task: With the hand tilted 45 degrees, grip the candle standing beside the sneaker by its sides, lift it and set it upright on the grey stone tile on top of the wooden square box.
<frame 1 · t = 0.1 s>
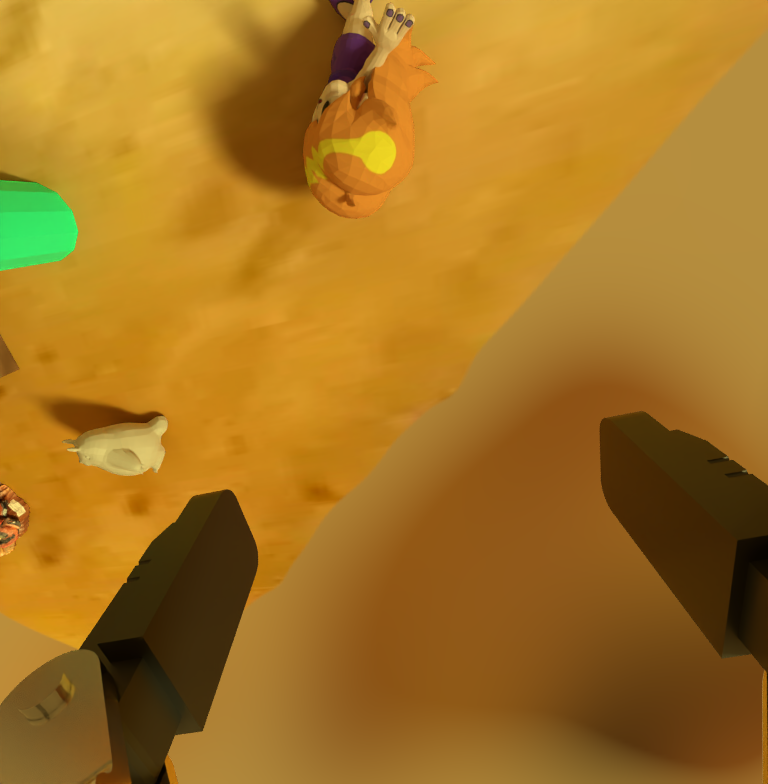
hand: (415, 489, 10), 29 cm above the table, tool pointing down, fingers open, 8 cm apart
candle: (41, 223, 35), on the table
figurine 2: (139, 428, 42), on the table
toy: (364, 115, 32), on the table
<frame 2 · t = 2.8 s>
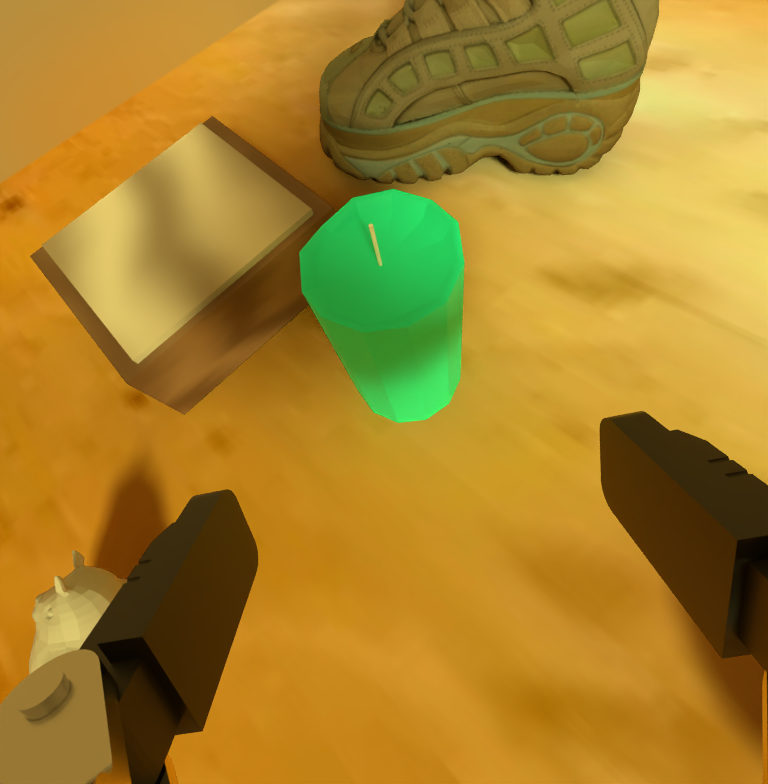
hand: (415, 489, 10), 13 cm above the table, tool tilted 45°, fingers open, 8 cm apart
candle: (407, 374, 25), on the table
wooden square box: (218, 284, 29), on the table
figurine 2: (147, 626, 22), on the table
sneaker: (466, 150, 31), on the table
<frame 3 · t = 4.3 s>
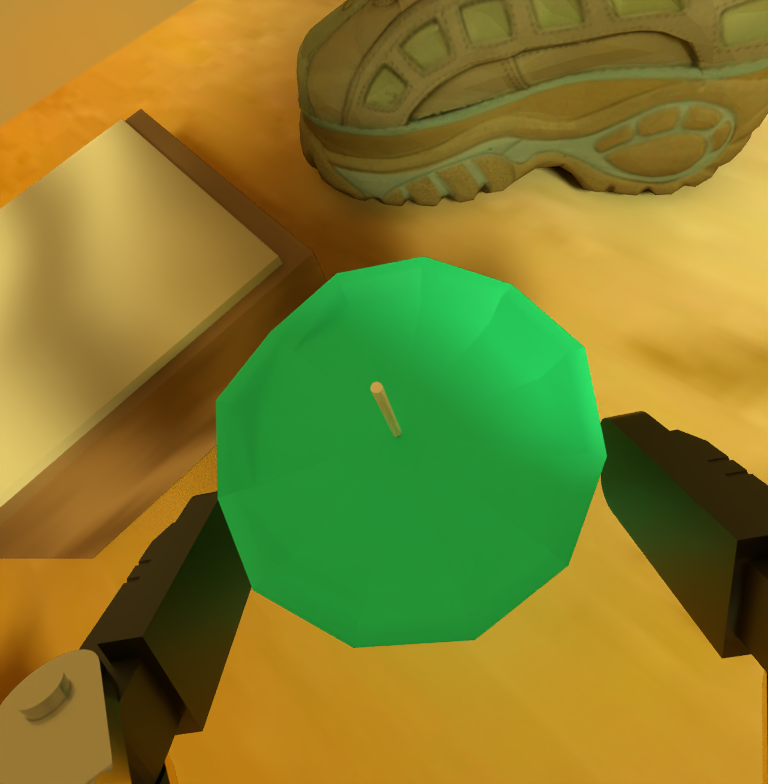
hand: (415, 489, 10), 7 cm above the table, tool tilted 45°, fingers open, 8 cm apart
candle: (430, 505, 16), on the table
wooden square box: (155, 349, 21), on the table
sneaker: (506, 157, 22), on the table
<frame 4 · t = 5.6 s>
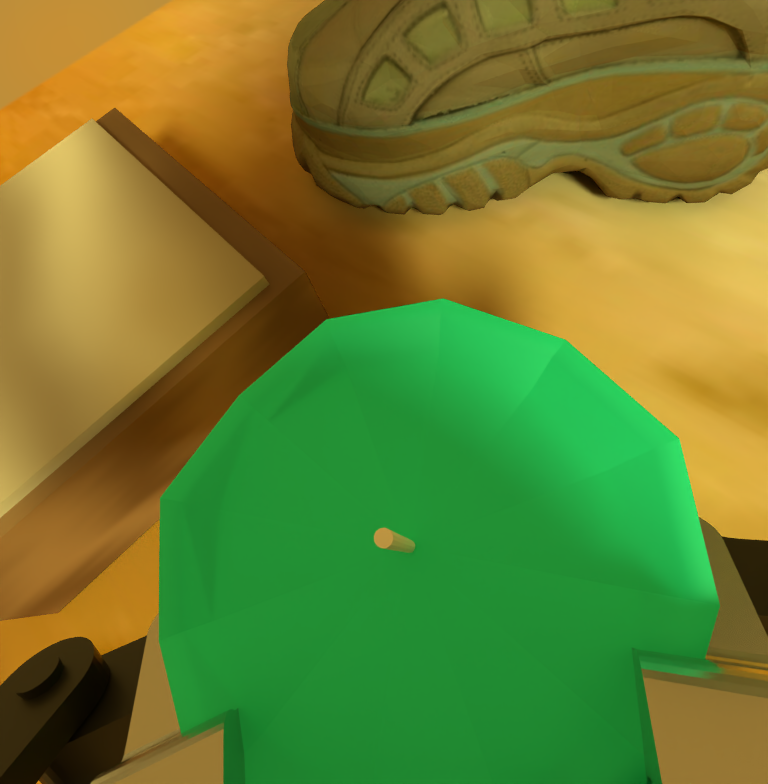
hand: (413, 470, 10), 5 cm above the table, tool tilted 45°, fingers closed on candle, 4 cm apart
candle: (437, 555, 14), on the table, touching gripper
wooden square box: (133, 373, 19), on the table
sneaker: (518, 160, 20), on the table
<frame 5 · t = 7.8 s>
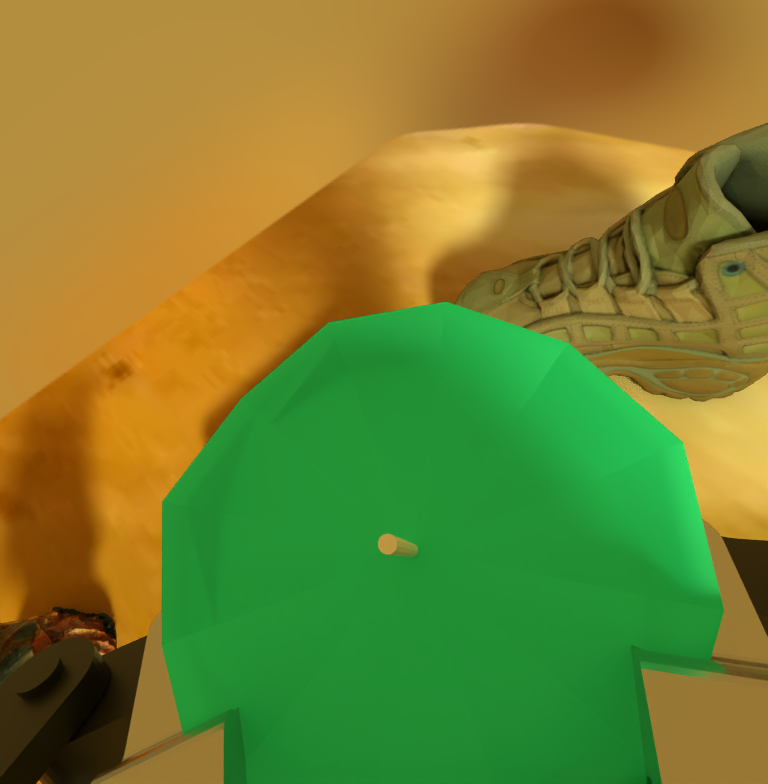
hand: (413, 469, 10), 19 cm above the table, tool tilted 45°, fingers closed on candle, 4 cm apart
candle: (439, 556, 14), point 14 cm above the table, touching gripper
sneaker: (585, 351, 31), on the table
figurine: (62, 659, 29), on the table
when the fingers open (12 cm above the table, at t = 10.1 s): candle drops 1 cm, resting on wooden square box.
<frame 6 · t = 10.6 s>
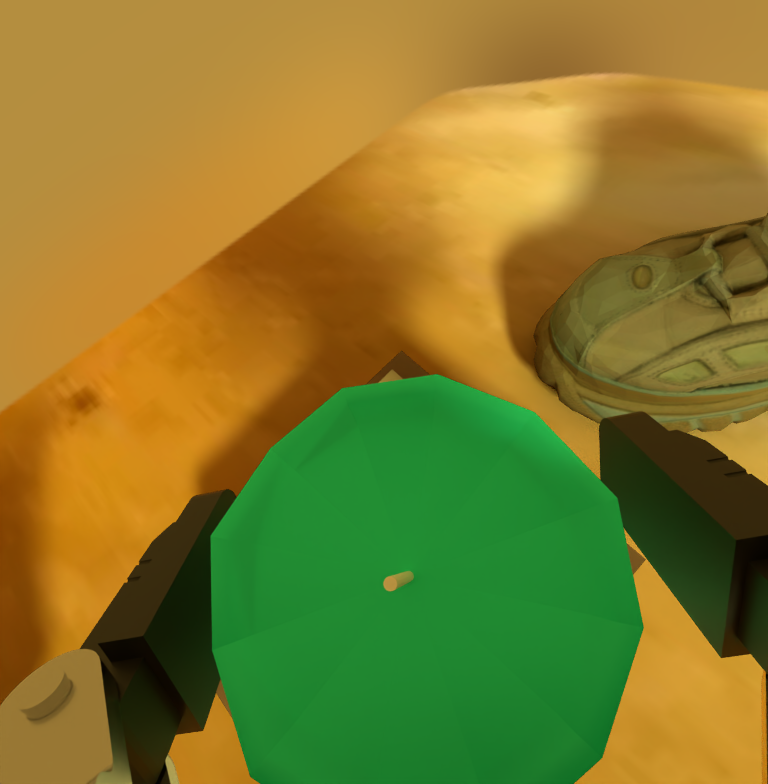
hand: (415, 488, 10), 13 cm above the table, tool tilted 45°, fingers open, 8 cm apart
candle: (436, 565, 16), point 5 cm above the table, touching wooden square box
wooden square box: (398, 571, 21), on the table
sneaker: (729, 368, 22), on the table
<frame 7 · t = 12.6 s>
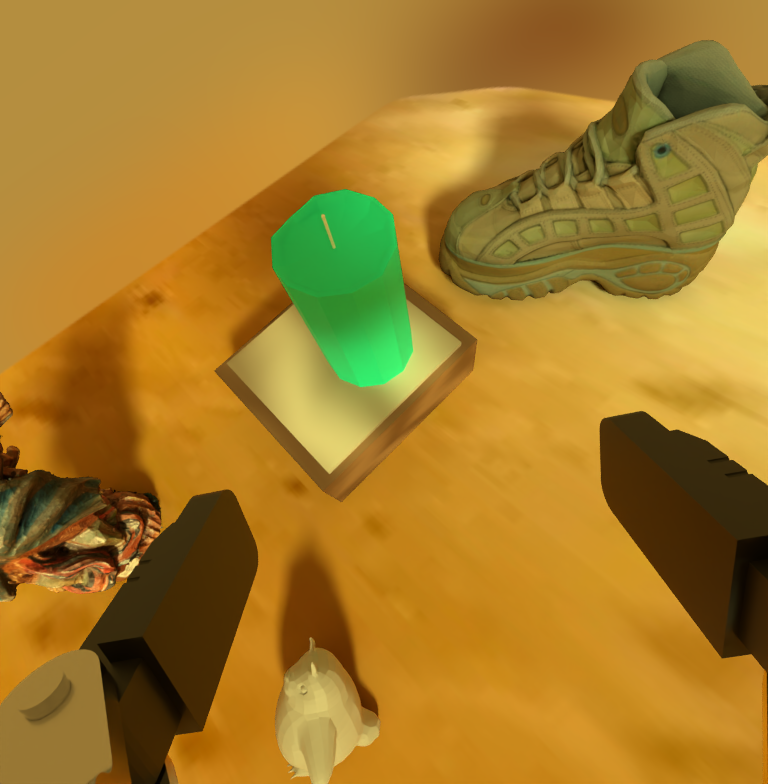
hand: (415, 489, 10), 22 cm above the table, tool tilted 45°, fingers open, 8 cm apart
candle: (370, 347, 30), point 5 cm above the table, touching wooden square box
wooden square box: (355, 383, 35), on the table
figurine 2: (333, 686, 27), on the table
sneaker: (559, 267, 36), on the table
figurine: (112, 532, 33), on the table
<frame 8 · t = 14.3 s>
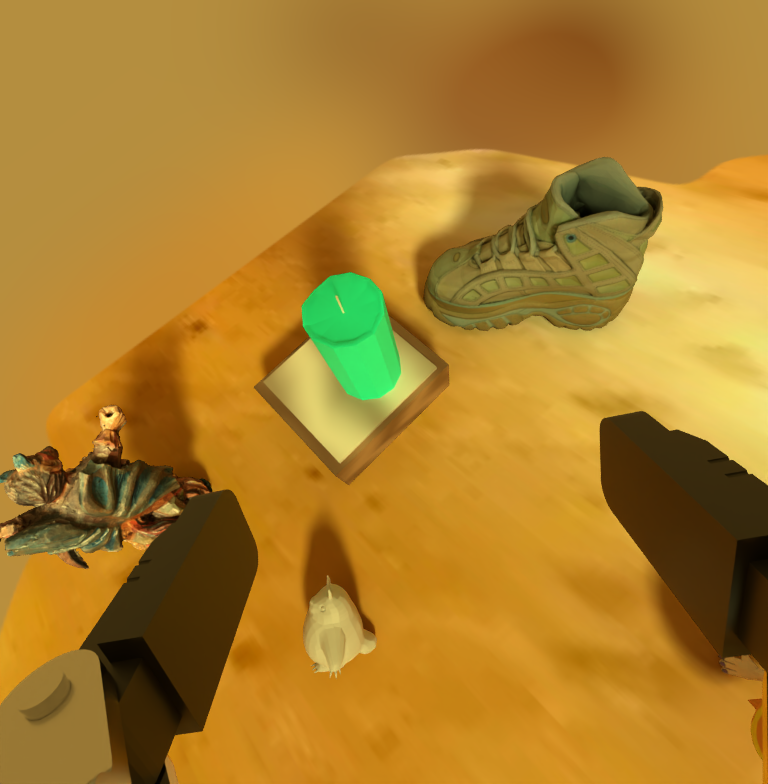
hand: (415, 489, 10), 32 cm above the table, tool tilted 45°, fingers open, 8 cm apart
candle: (369, 370, 40), point 5 cm above the table, touching wooden square box
wooden square box: (359, 394, 45), on the table
figurine 2: (343, 616, 38), on the table
sneaker: (518, 303, 46), on the table
figurine: (176, 508, 44), on the table
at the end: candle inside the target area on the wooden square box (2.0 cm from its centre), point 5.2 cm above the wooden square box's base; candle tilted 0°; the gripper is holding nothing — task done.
